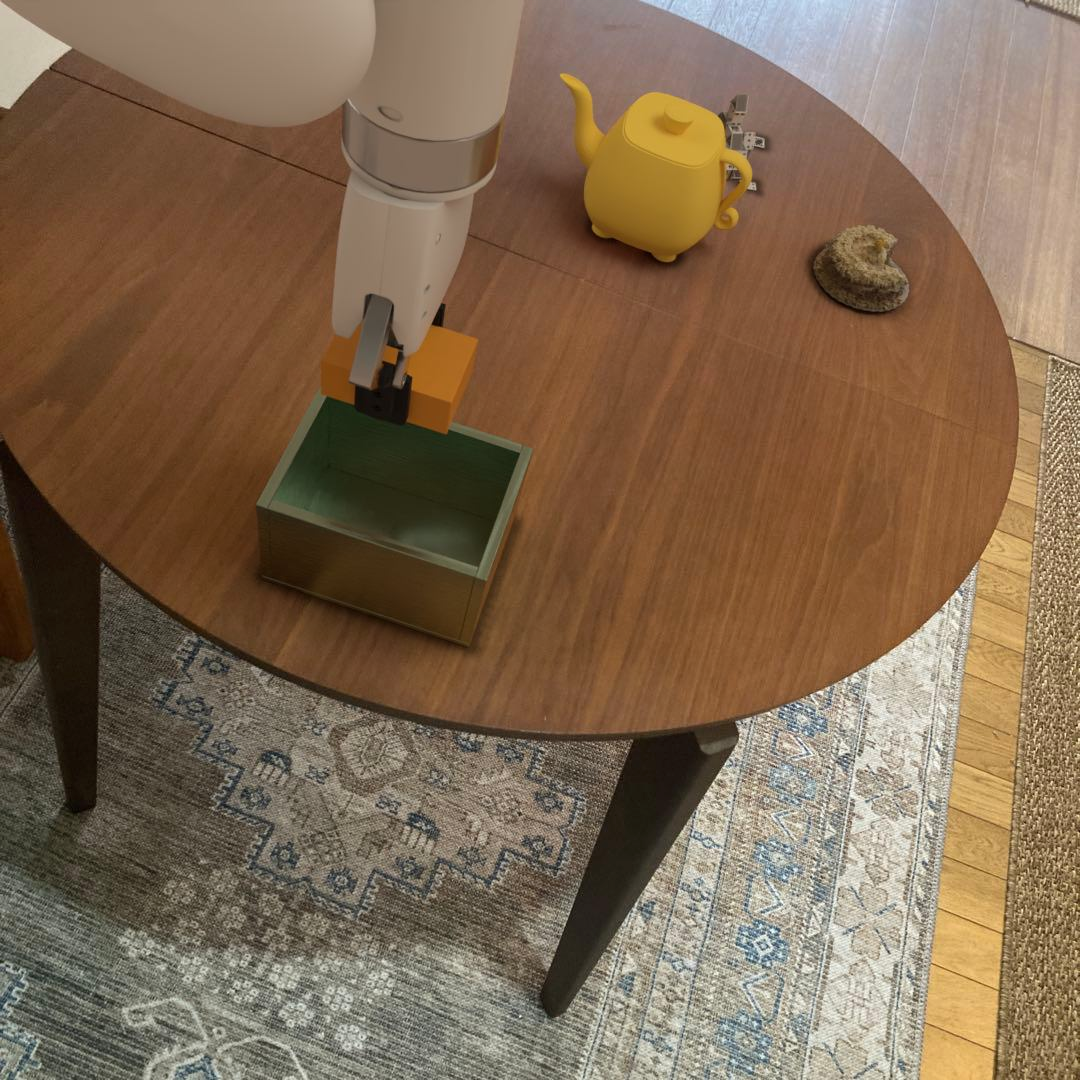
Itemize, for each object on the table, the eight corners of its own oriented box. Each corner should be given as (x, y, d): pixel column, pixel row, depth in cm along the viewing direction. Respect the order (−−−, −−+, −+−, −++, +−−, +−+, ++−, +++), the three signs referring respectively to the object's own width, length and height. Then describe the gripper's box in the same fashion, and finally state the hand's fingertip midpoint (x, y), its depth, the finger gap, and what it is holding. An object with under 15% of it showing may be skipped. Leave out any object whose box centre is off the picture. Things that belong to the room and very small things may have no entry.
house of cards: (790, 190, 110) (819, 128, 104) (715, 191, 108) (740, 127, 102) (762, 136, 115) (788, 73, 109) (690, 135, 113) (712, 71, 106)
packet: (320, 394, 63) (320, 360, 60) (352, 333, 66) (353, 298, 63) (446, 434, 63) (451, 402, 60) (472, 371, 66) (478, 338, 63)
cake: (823, 316, 101) (842, 274, 97) (801, 246, 107) (817, 203, 102) (920, 317, 103) (942, 275, 98) (893, 248, 108) (913, 206, 104)
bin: (261, 579, 74) (255, 504, 66) (322, 459, 81) (323, 378, 73) (468, 647, 74) (486, 580, 66) (512, 522, 81) (534, 448, 73)
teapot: (706, 297, 99) (752, 188, 88) (513, 219, 100) (536, 103, 89) (739, 214, 107) (786, 105, 96) (560, 143, 108) (587, 27, 97)
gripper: (405, 10, 54) (386, 272, 69) (275, 210, 44) (286, 464, 59) (542, 55, 54) (494, 306, 69) (443, 264, 44) (411, 504, 59)
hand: (398, 377), depth 64 cm, fingers closed on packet, 5 cm apart
